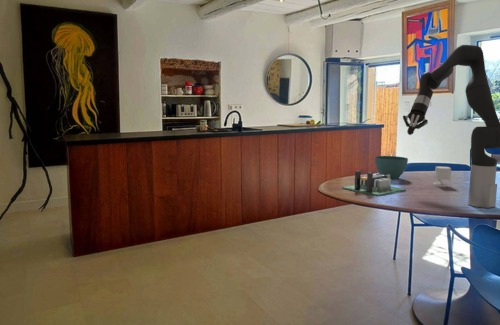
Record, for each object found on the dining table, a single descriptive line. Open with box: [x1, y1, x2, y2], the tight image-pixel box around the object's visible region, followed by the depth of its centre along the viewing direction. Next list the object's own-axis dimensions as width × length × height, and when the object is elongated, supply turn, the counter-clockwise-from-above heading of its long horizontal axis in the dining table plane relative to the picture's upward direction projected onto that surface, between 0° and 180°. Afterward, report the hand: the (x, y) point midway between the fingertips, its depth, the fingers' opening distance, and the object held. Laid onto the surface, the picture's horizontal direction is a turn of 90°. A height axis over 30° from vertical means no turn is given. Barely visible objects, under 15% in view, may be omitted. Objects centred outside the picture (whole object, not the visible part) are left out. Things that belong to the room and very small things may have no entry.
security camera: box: [432, 166, 452, 188], centre depth 208 cm, size 6×7×10 cm
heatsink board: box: [341, 170, 407, 197], centre depth 198 cm, size 22×22×10 cm
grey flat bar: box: [360, 174, 386, 180], centre depth 198 cm, size 5×1×16 cm
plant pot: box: [374, 155, 409, 180], centre depth 231 cm, size 18×18×12 cm
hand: (409, 133), depth 201 cm, fingers closed
